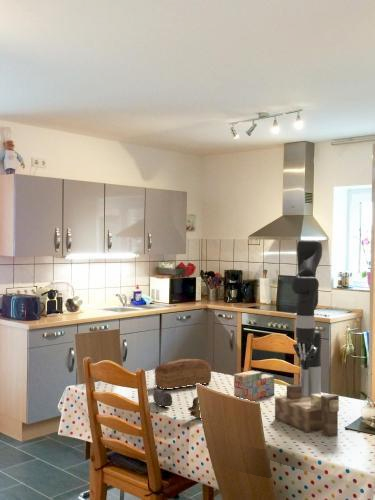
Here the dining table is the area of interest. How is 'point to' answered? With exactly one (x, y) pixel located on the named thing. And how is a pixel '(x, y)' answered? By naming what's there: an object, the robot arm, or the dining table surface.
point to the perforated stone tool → (162, 398)
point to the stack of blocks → (253, 385)
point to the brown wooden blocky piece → (310, 417)
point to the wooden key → (317, 402)
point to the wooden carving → (195, 408)
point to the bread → (182, 373)
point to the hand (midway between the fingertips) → (305, 369)
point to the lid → (297, 399)
